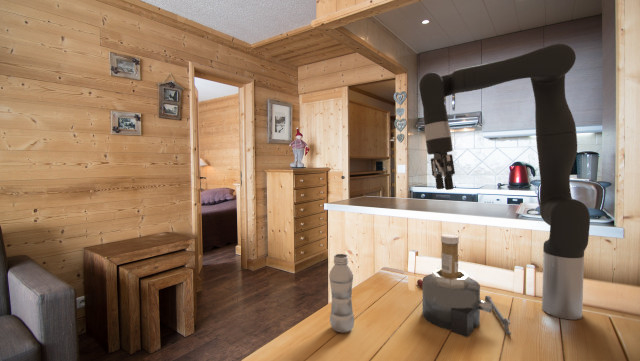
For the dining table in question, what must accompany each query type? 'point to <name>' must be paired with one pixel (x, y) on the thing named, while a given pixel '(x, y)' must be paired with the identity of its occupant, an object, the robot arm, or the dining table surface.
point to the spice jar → (449, 255)
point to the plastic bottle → (341, 295)
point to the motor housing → (453, 302)
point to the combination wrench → (499, 315)
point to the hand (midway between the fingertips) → (444, 189)
